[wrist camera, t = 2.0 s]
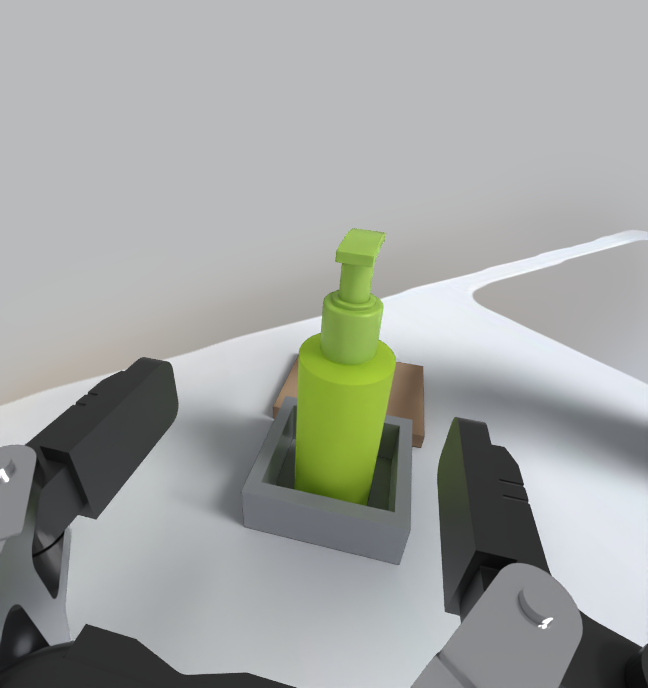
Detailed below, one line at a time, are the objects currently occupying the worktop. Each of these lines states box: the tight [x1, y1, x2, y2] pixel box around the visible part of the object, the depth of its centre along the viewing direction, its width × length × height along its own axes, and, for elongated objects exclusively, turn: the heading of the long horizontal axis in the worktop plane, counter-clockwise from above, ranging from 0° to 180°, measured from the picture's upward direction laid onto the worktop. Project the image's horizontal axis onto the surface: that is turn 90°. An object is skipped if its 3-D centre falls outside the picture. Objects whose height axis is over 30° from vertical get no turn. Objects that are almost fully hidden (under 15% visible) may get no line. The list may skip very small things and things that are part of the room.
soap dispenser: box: [294, 228, 396, 506], centre depth 25 cm, size 6×7×20 cm
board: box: [273, 355, 424, 448], centre depth 40 cm, size 14×11×2 cm
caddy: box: [241, 396, 412, 565], centre depth 29 cm, size 11×10×4 cm
